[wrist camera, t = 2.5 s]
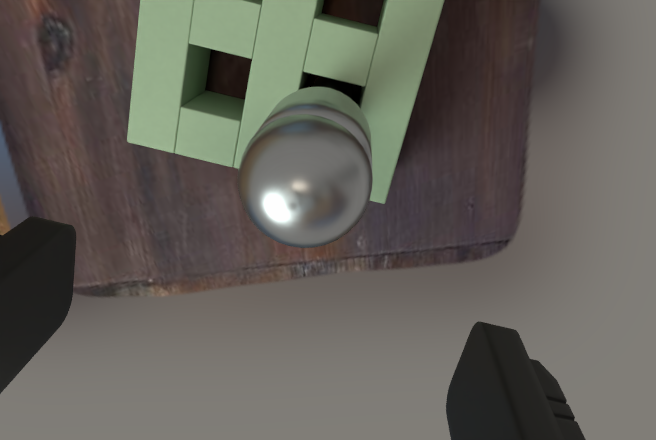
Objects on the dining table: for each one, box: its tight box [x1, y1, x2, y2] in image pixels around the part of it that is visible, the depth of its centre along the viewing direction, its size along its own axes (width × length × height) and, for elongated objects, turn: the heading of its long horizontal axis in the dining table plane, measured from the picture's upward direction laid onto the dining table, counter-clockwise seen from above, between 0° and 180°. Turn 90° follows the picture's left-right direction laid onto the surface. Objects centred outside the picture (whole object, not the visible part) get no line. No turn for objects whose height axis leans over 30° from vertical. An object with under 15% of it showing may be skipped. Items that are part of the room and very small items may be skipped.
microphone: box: [238, 76, 373, 248], centre depth 25 cm, size 4×4×18 cm
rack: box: [127, 0, 444, 203], centre depth 30 cm, size 14×14×5 cm
